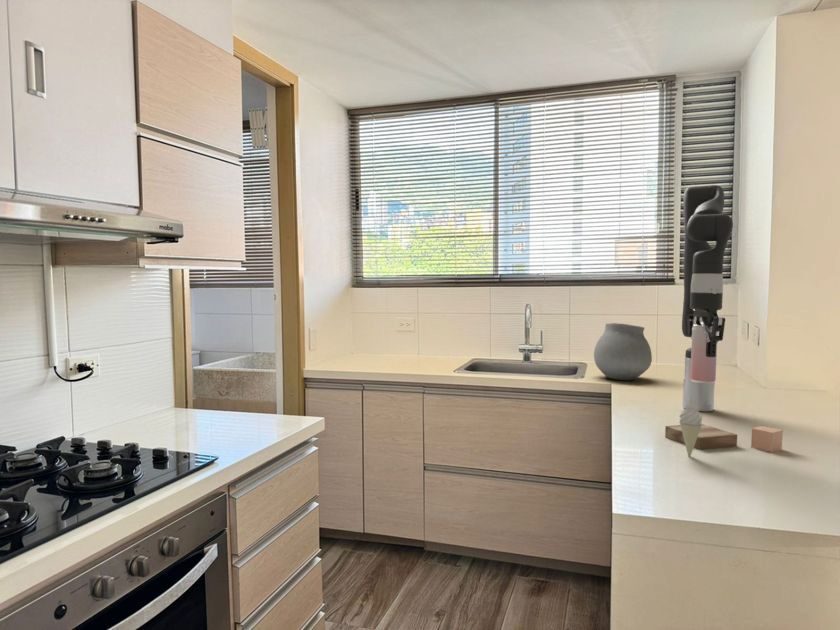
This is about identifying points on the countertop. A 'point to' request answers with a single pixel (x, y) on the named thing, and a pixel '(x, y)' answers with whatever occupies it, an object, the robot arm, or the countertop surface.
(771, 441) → the terracotta cube
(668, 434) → the pedestal
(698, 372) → the beverage can
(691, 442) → the ice cream cone
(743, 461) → the countertop surface
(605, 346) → the ceramic pot
